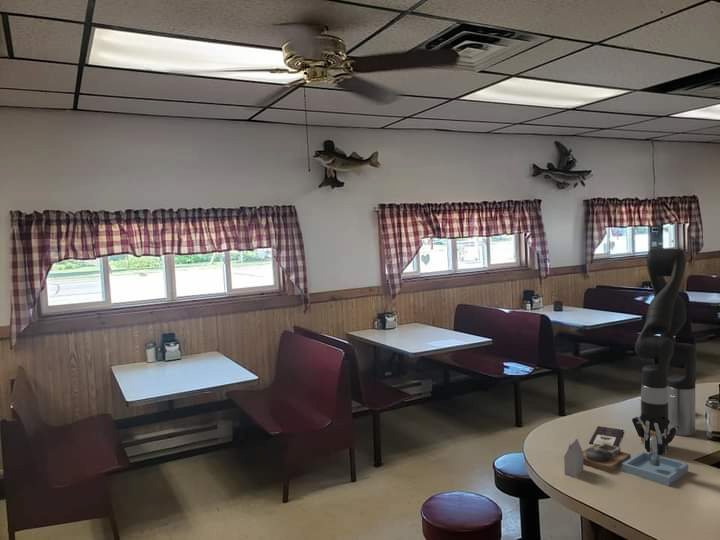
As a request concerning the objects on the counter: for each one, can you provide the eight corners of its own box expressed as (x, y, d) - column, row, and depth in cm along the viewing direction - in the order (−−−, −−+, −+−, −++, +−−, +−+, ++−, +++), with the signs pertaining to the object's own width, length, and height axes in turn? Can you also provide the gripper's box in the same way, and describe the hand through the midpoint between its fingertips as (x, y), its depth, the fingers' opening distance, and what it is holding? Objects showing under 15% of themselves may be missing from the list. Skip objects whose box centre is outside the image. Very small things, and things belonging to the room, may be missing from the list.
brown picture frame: (623, 429, 208) (616, 446, 192) (623, 432, 208) (616, 449, 193) (597, 426, 212) (589, 442, 197) (598, 428, 213) (589, 445, 197)
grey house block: (583, 469, 177) (582, 439, 177) (576, 477, 172) (576, 446, 171) (571, 466, 180) (571, 437, 179) (564, 474, 174) (564, 443, 174)
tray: (642, 458, 184) (642, 451, 183) (688, 471, 173) (688, 464, 172) (622, 471, 175) (621, 463, 175) (668, 486, 164) (668, 478, 164)
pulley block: (596, 449, 192) (595, 435, 192) (630, 460, 183) (630, 445, 182) (574, 461, 183) (574, 447, 183) (609, 473, 174) (609, 457, 174)
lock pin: (651, 461, 176) (651, 427, 175) (662, 464, 173) (662, 430, 172) (647, 464, 174) (647, 430, 173) (657, 467, 171) (657, 432, 170)
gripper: (683, 401, 169) (683, 456, 170) (637, 392, 180) (637, 443, 181) (673, 407, 164) (673, 463, 165) (626, 397, 175) (626, 450, 176)
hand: (654, 452), depth 173 cm, fingers closed on lock pin, 3 cm apart
